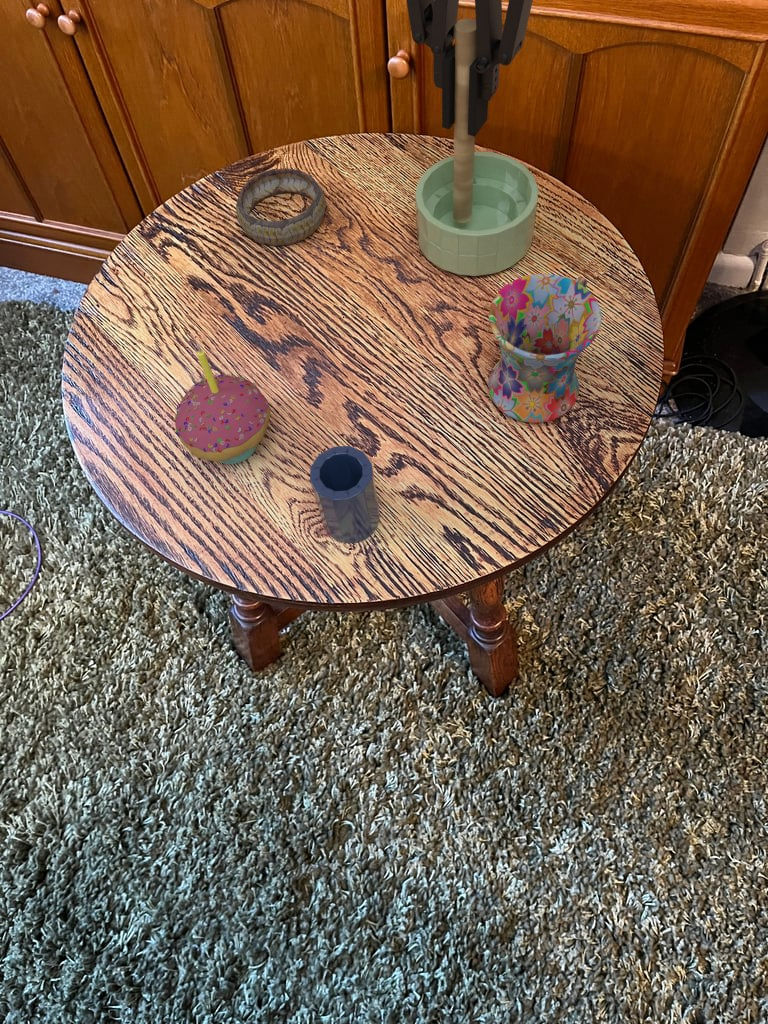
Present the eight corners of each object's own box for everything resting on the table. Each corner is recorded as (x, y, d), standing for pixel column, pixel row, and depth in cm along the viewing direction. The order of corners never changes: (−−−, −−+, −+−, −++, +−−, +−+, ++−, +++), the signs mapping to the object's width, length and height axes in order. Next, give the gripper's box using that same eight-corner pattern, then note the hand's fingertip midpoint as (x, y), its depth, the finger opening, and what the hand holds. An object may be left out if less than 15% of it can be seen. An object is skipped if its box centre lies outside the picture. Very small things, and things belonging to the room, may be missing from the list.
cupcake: (187, 417, 75) (144, 334, 65) (272, 399, 75) (244, 313, 65) (195, 491, 71) (151, 416, 60) (285, 471, 71) (257, 393, 61)
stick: (475, 213, 82) (483, 21, 65) (466, 225, 82) (472, 34, 64) (458, 208, 83) (461, 15, 65) (449, 220, 82) (451, 29, 65)
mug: (549, 448, 70) (565, 375, 61) (464, 402, 74) (467, 326, 64) (613, 361, 75) (637, 280, 65) (530, 321, 78) (542, 239, 68)
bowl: (550, 217, 84) (557, 170, 79) (503, 294, 80) (507, 249, 74) (448, 186, 88) (448, 139, 83) (397, 258, 83) (394, 213, 78)
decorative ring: (222, 219, 88) (275, 264, 84) (214, 196, 85) (269, 241, 81) (291, 175, 91) (345, 216, 87) (286, 151, 88) (342, 192, 84)
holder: (389, 507, 69) (383, 459, 62) (362, 552, 67) (352, 509, 60) (341, 485, 70) (329, 437, 63) (313, 529, 68) (298, 484, 61)
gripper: (348, -186, 53) (376, 127, 73) (554, -153, 48) (522, 169, 69) (400, -233, 55) (412, 81, 76) (599, -205, 51) (554, 119, 72)
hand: (464, 122), depth 73 cm, fingers closed on stick, 2 cm apart
